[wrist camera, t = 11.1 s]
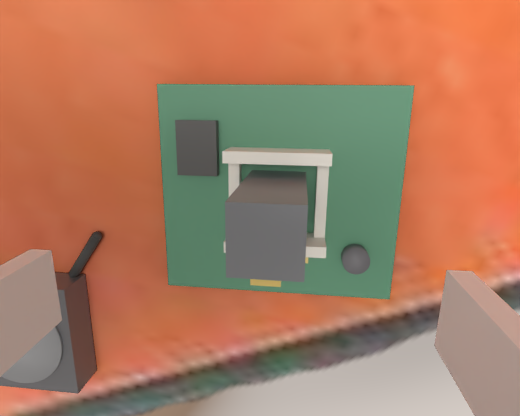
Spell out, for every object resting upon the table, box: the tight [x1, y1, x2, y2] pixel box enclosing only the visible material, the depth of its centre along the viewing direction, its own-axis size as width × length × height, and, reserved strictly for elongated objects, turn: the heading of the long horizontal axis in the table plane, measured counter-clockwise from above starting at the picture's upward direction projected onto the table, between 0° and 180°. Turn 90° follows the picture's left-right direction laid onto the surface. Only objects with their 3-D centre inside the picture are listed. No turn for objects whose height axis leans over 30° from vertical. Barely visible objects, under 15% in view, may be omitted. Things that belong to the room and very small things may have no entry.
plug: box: [225, 170, 308, 287], centre depth 23 cm, size 5×4×10 cm
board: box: [157, 84, 414, 299], centre depth 27 cm, size 16×18×4 cm
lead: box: [69, 232, 102, 278], centre depth 31 cm, size 5×1×1 cm, turn 144°
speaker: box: [0, 272, 97, 393], centre depth 32 cm, size 10×10×4 cm
